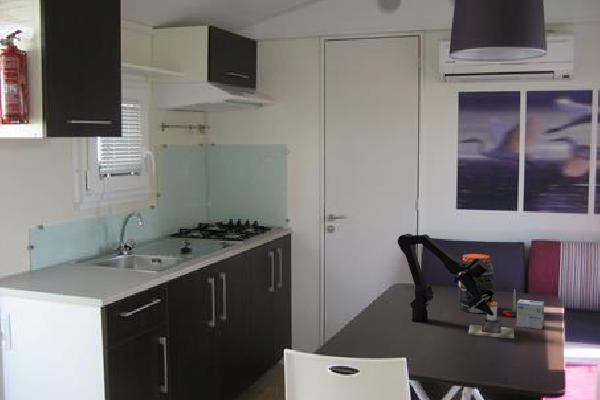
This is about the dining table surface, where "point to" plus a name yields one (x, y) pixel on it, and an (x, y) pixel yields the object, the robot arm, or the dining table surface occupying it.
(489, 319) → the pin
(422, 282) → the robot arm
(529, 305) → the light bulb box
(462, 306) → the supplement tub
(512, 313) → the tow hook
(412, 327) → the dining table surface
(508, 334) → the block
